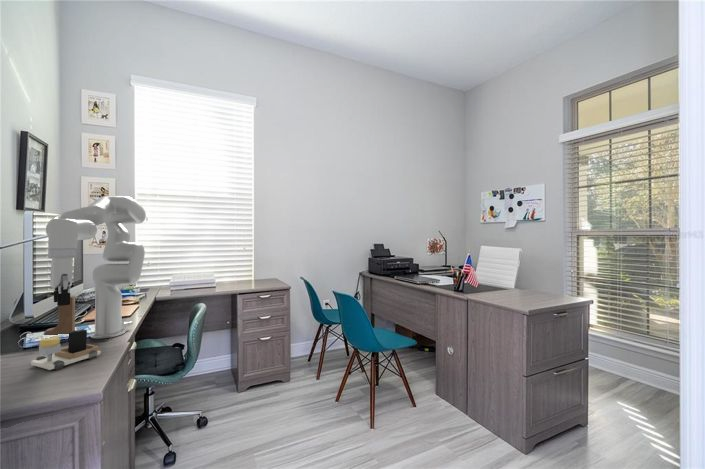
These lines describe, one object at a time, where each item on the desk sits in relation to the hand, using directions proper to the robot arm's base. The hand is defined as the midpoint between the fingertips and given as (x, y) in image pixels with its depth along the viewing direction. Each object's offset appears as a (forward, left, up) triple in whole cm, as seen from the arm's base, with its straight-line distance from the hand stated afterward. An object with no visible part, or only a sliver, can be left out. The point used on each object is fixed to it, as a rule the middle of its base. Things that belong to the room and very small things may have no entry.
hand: (61, 303), depth 111 cm
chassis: (-2, 0, -21) cm, 21 cm away
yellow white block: (+3, 0, -16) cm, 16 cm away
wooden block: (-15, -31, -21) cm, 41 cm away
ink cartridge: (-5, -1, -19) cm, 20 cm away
